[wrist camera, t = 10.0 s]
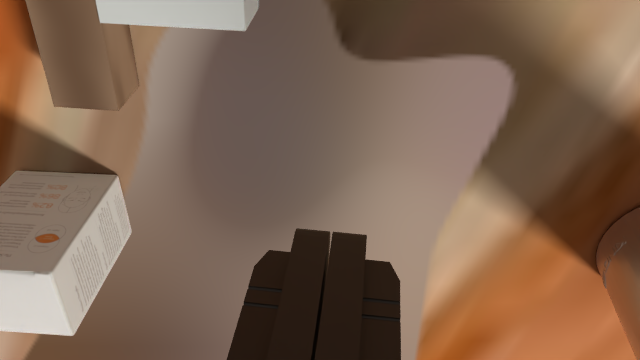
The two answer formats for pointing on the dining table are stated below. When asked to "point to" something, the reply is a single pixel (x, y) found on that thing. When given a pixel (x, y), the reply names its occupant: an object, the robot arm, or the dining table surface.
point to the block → (179, 13)
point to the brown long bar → (83, 55)
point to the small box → (57, 247)
